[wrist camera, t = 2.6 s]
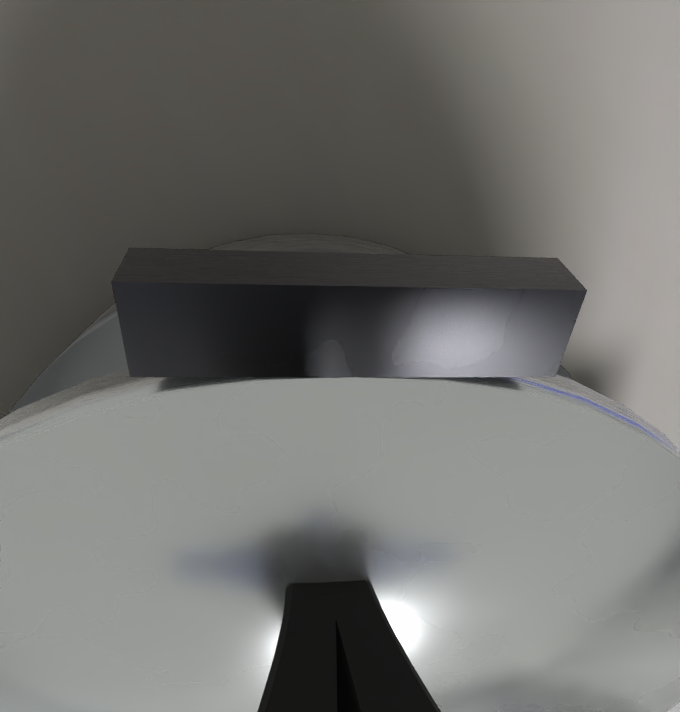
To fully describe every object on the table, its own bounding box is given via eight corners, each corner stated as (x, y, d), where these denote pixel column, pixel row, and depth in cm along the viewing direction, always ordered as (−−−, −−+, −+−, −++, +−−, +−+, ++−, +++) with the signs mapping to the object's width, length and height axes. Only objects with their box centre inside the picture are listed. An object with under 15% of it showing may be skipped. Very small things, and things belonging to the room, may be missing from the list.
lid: (569, 779, 18) (598, 861, 16) (10, 826, 16) (-20, 924, 14) (988, 269, 7) (1187, 356, 6) (-497, 232, 6) (-820, 347, 4)
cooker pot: (555, 685, 22) (610, 794, 19) (16, 719, 20) (-43, 850, 16) (667, 242, 16) (784, 274, 12) (-102, 221, 14) (-244, 252, 10)
